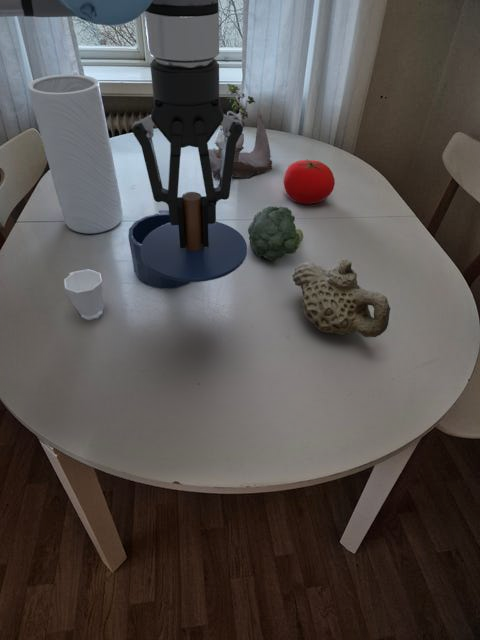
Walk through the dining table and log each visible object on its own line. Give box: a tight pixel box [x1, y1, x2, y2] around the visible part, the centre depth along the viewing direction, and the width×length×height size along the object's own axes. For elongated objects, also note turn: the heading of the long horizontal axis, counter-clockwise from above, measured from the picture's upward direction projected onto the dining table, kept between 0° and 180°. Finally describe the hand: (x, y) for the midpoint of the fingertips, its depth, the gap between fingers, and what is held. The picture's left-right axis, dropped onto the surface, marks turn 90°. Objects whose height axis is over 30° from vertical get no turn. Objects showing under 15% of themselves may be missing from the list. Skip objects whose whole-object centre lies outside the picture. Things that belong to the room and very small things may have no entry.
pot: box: [128, 209, 191, 290], centre depth 92 cm, size 15×20×10 cm
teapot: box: [292, 258, 391, 338], centre depth 78 cm, size 21×12×15 cm, turn 40°
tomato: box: [283, 159, 336, 205], centre depth 118 cm, size 14×13×10 cm
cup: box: [63, 268, 104, 321], centre depth 82 cm, size 7×10×8 cm
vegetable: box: [247, 205, 304, 262], centre depth 98 cm, size 12×13×15 cm
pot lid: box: [141, 191, 248, 283], centre depth 61 cm, size 16×16×9 cm
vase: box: [27, 74, 124, 235], centre depth 98 cm, size 14×14×32 cm
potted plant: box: [208, 82, 273, 180], centre depth 131 cm, size 20×19×25 cm
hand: (194, 241), depth 63 cm, fingers closed on pot lid, 3 cm apart
